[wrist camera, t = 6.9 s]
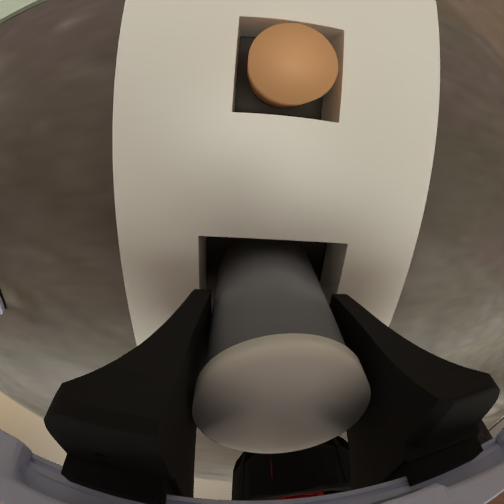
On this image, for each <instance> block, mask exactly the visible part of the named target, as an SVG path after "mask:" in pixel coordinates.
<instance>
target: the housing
mask: <svg viewBox="0 0 504 504" xmlns="http://www.w3.org/2000/svg"><path fill="white" fill-rule="evenodd" d="M282 23H297V24H302V25H306V26H308V27H311V28H313V29H315V30H316V31H318V32H319V33H321V34H322V35H323V36H324V37H325V38H326V39H327V40H328V41H329V42H330V43H331V45H332V46H333V48H334V50H335V52H336V55H337V59H338V74H337V78H336V80H335V82H334V84H333V86H332V87H331V88H330V90H329V91H328V92H327V93H325V94H324V95H323V100H322V113H321V120H316V119H308V118H300V117H291V116H282V115H271V114H257V113H240V112H235V98H236V83H237V70H238V57H239V44H240V36H242V37H257V36H258V35H259V34H260V33H261V32H263V31H264V30H265V29H267V28H269V27H271V26H274V25H277V24H282ZM439 91H440V45H439V28H438V16H437V7H436V1H435V0H126V1H125V6H124V12H123V17H122V23H121V30H120V37H119V44H118V52H117V61H116V72H115V84H114V100H113V181H114V198H115V211H116V222H117V232H118V241H119V250H120V257H121V264H122V271H123V278H124V284H125V290H126V295H127V301H128V306H129V311H130V316H131V321H132V326H133V331H134V335H135V339H136V344H137V346H138V345H140V344H141V343H142V342H143V341H145V340H146V339H147V338H148V337H150V336H151V335H152V334H153V333H154V332H155V331H156V330H157V329H158V328H159V327H161V326H162V325H163V324H164V323H165V322H166V321H167V320H168V319H169V318H170V317H171V315H172V314H173V313H174V312H175V311H176V310H177V309H178V308H179V307H180V305H181V304H182V303H183V302H184V301H185V300H186V298H187V297H188V296H189V294H190V293H191V292H192V291H193V290H194V289H205V290H207V286H206V236H214V237H235V238H256V239H275V240H294V241H312V242H327V246H326V252H325V258H324V263H323V268H322V274H321V279H320V286H321V288H322V290H323V292H324V295H325V297H326V299H327V302H328V304H330V300H331V296H332V294H347V295H348V296H350V297H351V298H353V299H354V300H355V301H356V302H358V303H359V304H360V305H361V306H363V307H364V308H365V309H366V310H367V311H369V312H370V313H371V314H372V315H374V316H375V317H376V318H377V319H379V320H380V321H381V322H382V323H384V324H385V325H386V326H388V327H389V324H390V322H391V319H392V317H393V314H394V311H395V308H396V306H397V303H398V300H399V297H400V294H401V291H402V288H403V285H404V282H405V279H406V276H407V273H408V269H409V266H410V263H411V259H412V256H413V252H414V249H415V245H416V241H417V237H418V233H419V229H420V225H421V221H422V217H423V212H424V208H425V203H426V198H427V193H428V188H429V182H430V177H431V170H432V164H433V157H434V150H435V142H436V133H437V122H438V110H439ZM211 319H212V318H211Z"/></svg>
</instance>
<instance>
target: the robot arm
mask: <svg viewBox="0 0 504 504" xmlns="http://www.w3.org/2000/svg"><path fill="white" fill-rule="evenodd" d="M329 306H330V309H331V311H332V313H333V316H334V318H335V321H336V323H337V325H338V328H339V330H340V333H341V335H342V338H343V340H344V342H345V345H346V347H348V348H349V349H350V350H351V351H353V352H354V354H355V355H356V356H357V357H358V359H359V361H360V363H361V365H362V368H363V370H364V373H365V375H366V378H367V380H368V383H369V385H370V390H371V398H370V402H369V405H368V407H367V409H366V411H365V412H364V414H363V415H362V416H361V417H360V419H359V420H358V421H357V422H356V423H355V424H354V425H352V426H351V427H350V428H349V429H347V430H346V431H347V438H348V445H349V456H350V467H351V491H346V492H340V493H335V494H328V495H322V496H314V497H306V498H296V499H283V500H261V501H235V500H213V499H201V498H193V488H194V487H193V486H194V460H195V443H196V429H197V425H196V424H195V422H194V419H193V416H192V405H193V398H194V391H195V385H196V380H197V378H198V375H199V373H200V372H201V370H202V369H203V367H204V366H205V363H206V356H207V348H208V341H209V333H210V326H211V290H205V289H194V290H193V291H192V292H191V293H190V294H189V296H188V297H187V298H186V300H185V301H184V302H183V303H182V304H181V305H180V307H179V308H178V309H177V310H176V311H175V312H174V313H173V314H172V315H171V317H170V318H169V319H168V320H167V321H166V322H165V323H164V324H163V325H162V326H161V327H159V328H158V329H157V330H156V331H155V332H154V333H153V334H152V335H151V336H150V337H148V338H147V339H146V340H145V341H143V342H142V343H141V344H140V345H138V346H137V347H136V348H134V349H133V350H131V351H129V352H128V353H126V354H125V355H123V356H122V357H120V358H118V359H117V360H115V361H113V362H111V363H109V364H108V365H106V366H104V367H102V368H100V369H97V370H95V371H93V372H91V373H89V374H86V375H83V376H81V377H78V378H75V379H73V380H70V381H67V382H64V383H62V384H61V386H60V388H59V389H58V391H57V393H56V394H55V397H54V399H53V401H52V403H51V405H50V407H49V409H48V411H47V414H46V416H45V418H44V422H45V426H46V428H47V430H48V431H49V433H50V434H51V435H52V437H53V438H54V439H55V440H56V441H57V442H58V444H59V445H60V446H61V447H62V448H63V449H64V450H65V451H66V452H67V456H66V459H65V462H64V465H63V466H61V465H59V464H56V463H54V462H51V461H49V460H47V459H44V458H42V457H40V456H38V455H35V454H33V453H32V451H31V450H30V449H29V448H28V447H27V446H26V445H25V444H24V443H23V442H21V441H20V440H19V439H17V438H15V437H13V436H12V435H10V434H8V433H6V432H4V431H2V430H1V429H0V502H1V503H3V504H486V503H488V502H489V501H491V500H492V499H493V498H495V497H496V496H498V495H499V494H500V493H502V492H503V491H504V428H503V429H502V430H501V431H500V432H499V433H498V434H497V435H496V437H495V438H493V439H491V440H489V441H487V442H485V443H484V444H482V445H481V444H480V442H479V440H478V438H477V436H476V435H478V434H479V433H480V429H479V427H478V426H477V424H478V423H479V422H480V421H481V419H482V418H483V417H484V416H485V415H486V414H487V412H488V411H489V410H490V409H491V408H492V406H493V405H494V404H495V402H496V400H497V398H498V396H499V392H500V390H499V387H498V386H497V384H496V383H495V382H494V380H493V379H492V377H491V376H490V374H488V373H484V372H480V371H476V370H473V369H469V368H466V367H463V366H460V365H457V364H454V363H452V362H449V361H447V360H444V359H442V358H440V357H438V356H435V355H433V354H431V353H429V352H427V351H425V350H423V349H422V348H420V347H418V346H416V345H415V344H413V343H411V342H410V341H408V340H406V339H405V338H403V337H402V336H400V335H399V334H397V333H396V332H395V331H393V330H392V329H390V328H389V327H388V326H386V325H385V324H384V323H382V322H381V321H380V320H379V319H377V318H376V317H375V316H374V315H372V314H371V313H370V312H369V311H367V310H366V309H365V308H364V307H363V306H361V305H360V304H359V303H358V302H356V301H355V300H354V299H353V298H351V297H350V296H348V295H347V294H332V296H331V300H330V304H329ZM4 312H5V307H4V304H3V302H2V299H1V296H0V314H3V313H4Z"/></svg>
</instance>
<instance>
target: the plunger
mask: <svg viewBox="0 0 504 504" xmlns="http://www.w3.org/2000/svg"><path fill="white" fill-rule="evenodd" d="M337 74H338V59H337V55H336V52H335V50H334V48H333V46H332V45H331V43H330V42H329V41H328V40H327V39H326V38H325V37H324V36H323V35H322V34H321V33H319V32H318V31H316V30H315V29H313V28H311V27H308V26H306V25H302V24H297V23H282V24H277V25H274V26H271V27H269V28H267V29H265V30H264V31H263V32H261V33H260V34H259V35H258V36H257V37H256V38H255V40H254V41H253V43H252V45H251V47H250V50H249V55H248V67H247V78H248V82H249V85H250V87H251V89H252V91H253V92H254V94H255V95H256V96H257V97H258V98H259V99H261V100H262V101H263V102H265V103H267V104H269V105H271V106H275V107H280V108H291V107H296V106H299V105H302V104H304V103H307V102H310V101H313V100H316V99H318V98H320V97H321V96H323V95H324V94H325V93H327V92H328V91H329V90H330V88H331V87H332V86H333V84H334V82H335V80H336V78H337Z"/></svg>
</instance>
